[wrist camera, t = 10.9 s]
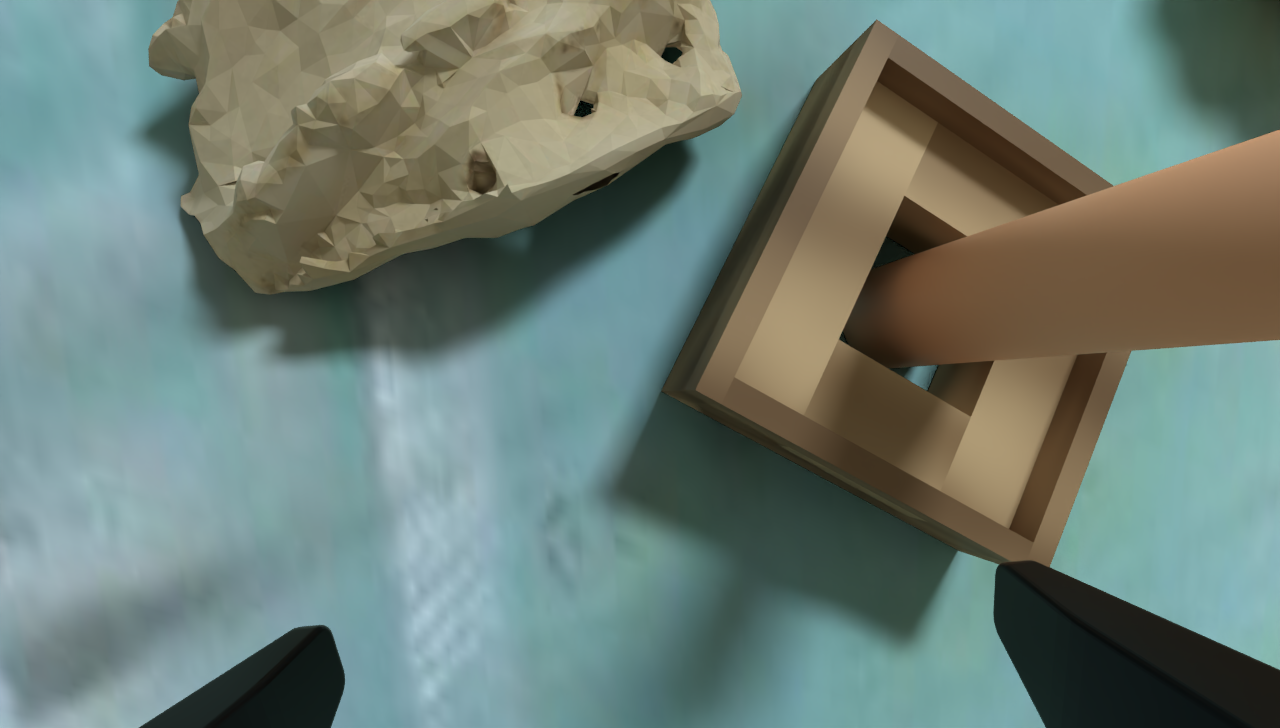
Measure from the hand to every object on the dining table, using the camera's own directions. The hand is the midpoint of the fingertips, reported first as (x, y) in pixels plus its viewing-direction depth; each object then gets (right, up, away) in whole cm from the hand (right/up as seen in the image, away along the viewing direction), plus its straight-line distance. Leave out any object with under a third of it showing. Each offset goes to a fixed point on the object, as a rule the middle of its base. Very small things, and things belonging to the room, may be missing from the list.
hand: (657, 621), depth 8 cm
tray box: (+8, +5, +13) cm, 16 cm away
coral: (-6, +13, +11) cm, 18 cm away
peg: (+8, +5, +13) cm, 16 cm away
